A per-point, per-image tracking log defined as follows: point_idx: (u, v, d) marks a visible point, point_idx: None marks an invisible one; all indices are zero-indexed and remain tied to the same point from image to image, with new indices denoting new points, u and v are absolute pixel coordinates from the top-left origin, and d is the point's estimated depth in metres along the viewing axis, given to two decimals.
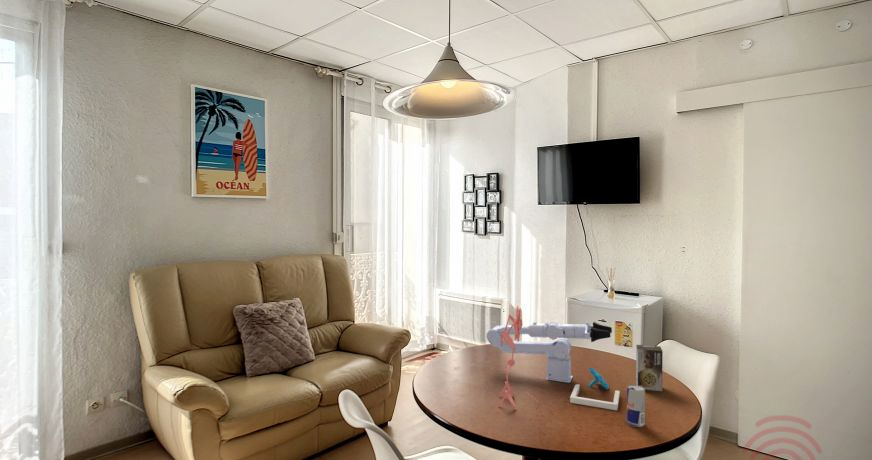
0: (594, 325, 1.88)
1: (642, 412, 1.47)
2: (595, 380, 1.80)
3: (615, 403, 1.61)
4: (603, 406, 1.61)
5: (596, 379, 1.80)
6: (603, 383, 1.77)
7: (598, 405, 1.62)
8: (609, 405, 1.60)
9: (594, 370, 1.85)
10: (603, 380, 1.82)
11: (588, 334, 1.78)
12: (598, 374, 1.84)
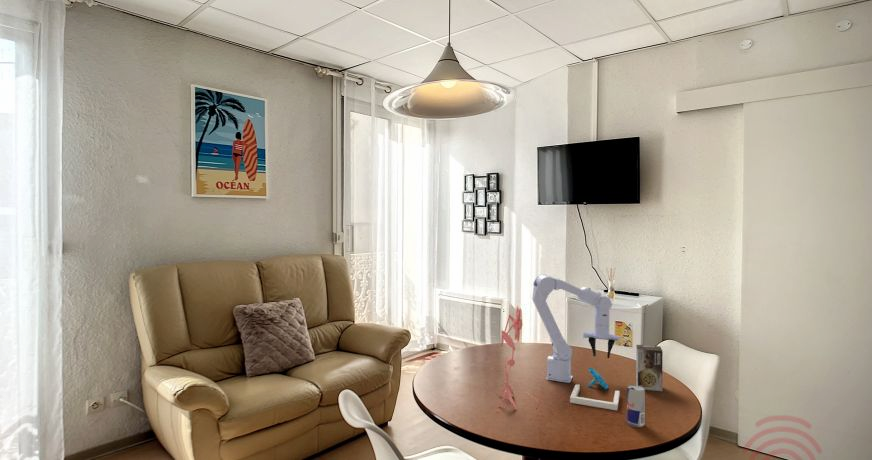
0: (595, 339, 1.93)
1: (642, 412, 1.47)
2: (594, 380, 1.81)
3: (615, 403, 1.61)
4: (603, 406, 1.61)
5: (595, 379, 1.80)
6: (602, 383, 1.77)
7: (598, 405, 1.62)
8: (609, 405, 1.60)
9: (594, 370, 1.85)
10: (603, 380, 1.82)
11: (620, 339, 1.87)
12: (598, 374, 1.84)
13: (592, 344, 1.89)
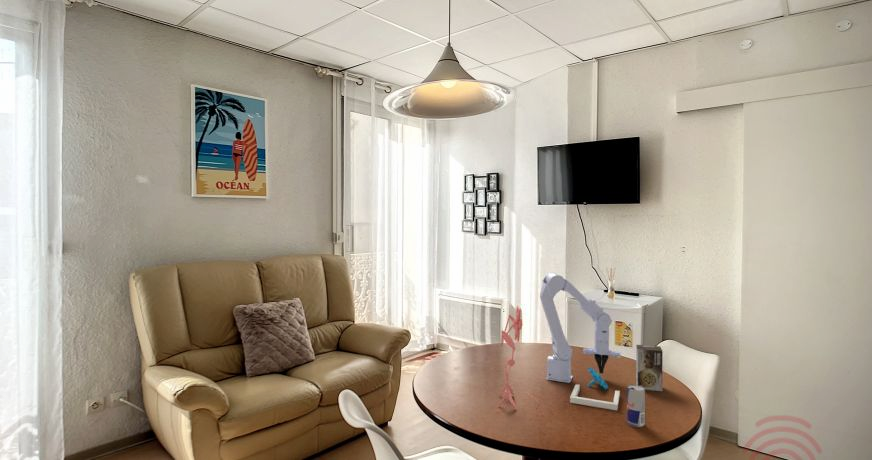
0: (601, 355, 1.92)
1: (642, 412, 1.47)
2: (594, 380, 1.81)
3: (615, 403, 1.61)
4: (603, 406, 1.61)
5: None
6: (602, 383, 1.77)
7: (598, 405, 1.62)
8: (609, 405, 1.60)
9: (594, 370, 1.85)
10: (602, 380, 1.82)
11: None
12: (597, 374, 1.84)
13: (598, 361, 1.89)
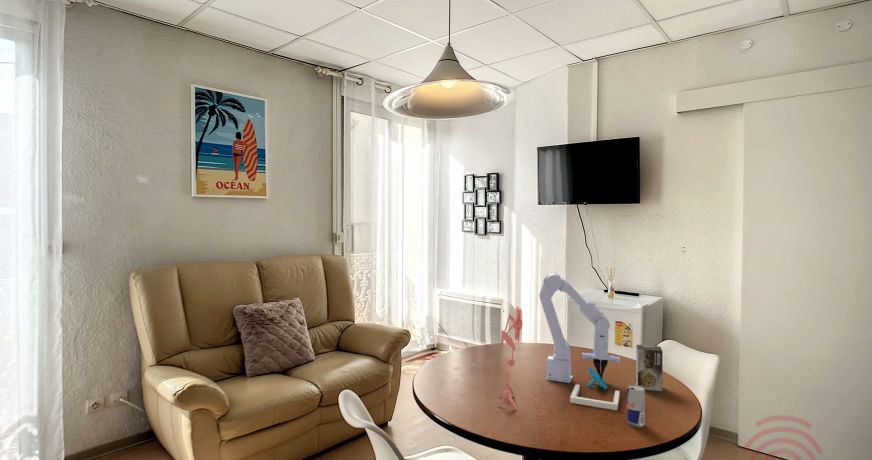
0: None
1: (642, 412, 1.47)
2: (594, 380, 1.80)
3: (615, 403, 1.61)
4: (603, 406, 1.61)
5: (595, 379, 1.80)
6: (601, 383, 1.76)
7: (598, 405, 1.62)
8: (609, 405, 1.60)
9: (593, 370, 1.84)
10: (602, 380, 1.81)
11: (619, 361, 1.84)
12: (597, 374, 1.83)
13: (597, 366, 1.86)
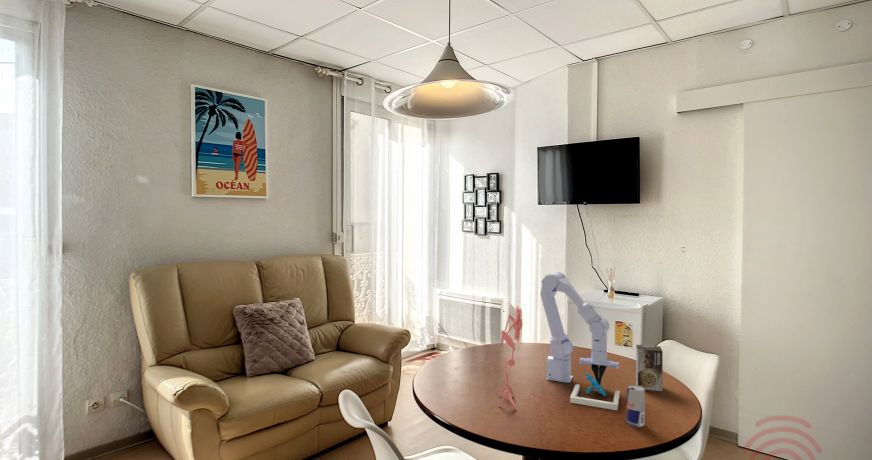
0: None
1: (642, 412, 1.47)
2: (592, 387, 1.73)
3: (615, 403, 1.61)
4: (603, 406, 1.61)
5: (593, 386, 1.73)
6: (600, 390, 1.70)
7: (598, 405, 1.62)
8: (609, 405, 1.60)
9: (591, 376, 1.78)
10: (600, 386, 1.75)
11: (618, 366, 1.78)
12: (595, 380, 1.76)
13: (595, 372, 1.79)
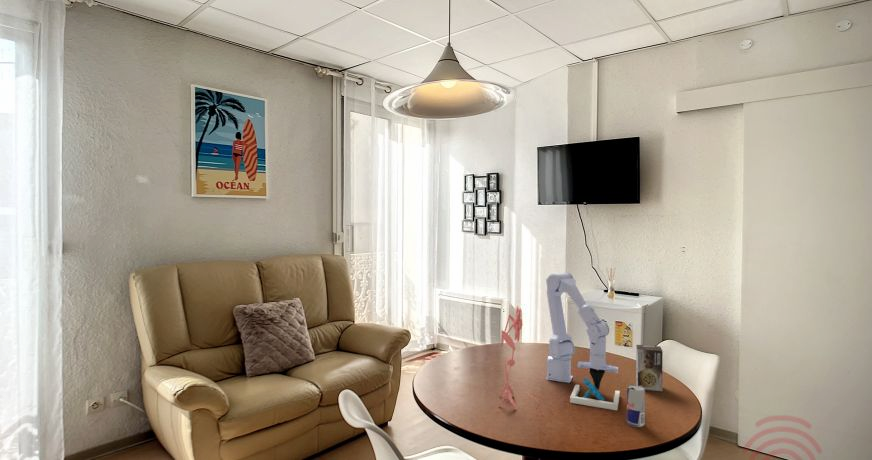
0: (597, 370, 1.77)
1: (642, 412, 1.47)
2: (589, 392, 1.68)
3: (615, 403, 1.61)
4: (603, 406, 1.61)
5: (591, 391, 1.68)
6: (598, 395, 1.65)
7: (598, 405, 1.62)
8: (609, 405, 1.60)
9: (588, 381, 1.73)
10: (598, 392, 1.70)
11: (617, 371, 1.72)
12: (592, 385, 1.72)
13: (593, 376, 1.74)
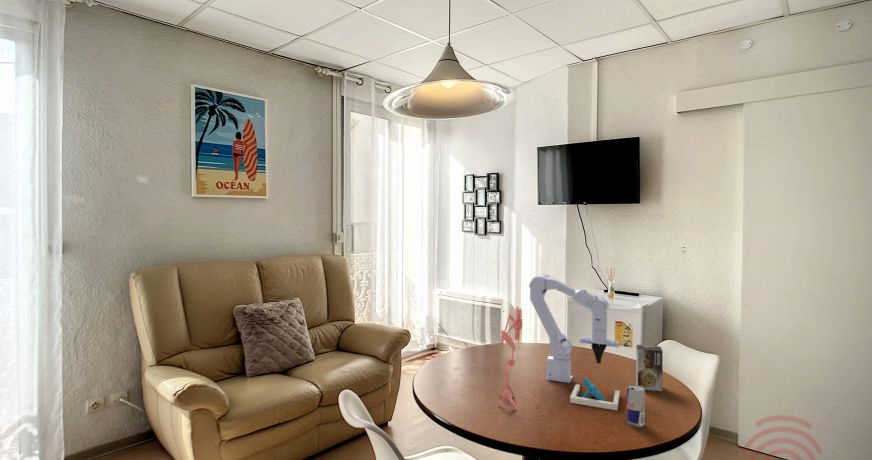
0: None
1: (642, 412, 1.47)
2: (589, 392, 1.68)
3: (615, 403, 1.61)
4: (603, 406, 1.61)
5: (590, 391, 1.68)
6: (597, 395, 1.65)
7: (598, 405, 1.62)
8: (609, 405, 1.60)
9: (588, 381, 1.73)
10: (597, 391, 1.70)
11: (618, 345, 1.79)
12: (592, 385, 1.72)
13: (595, 351, 1.80)
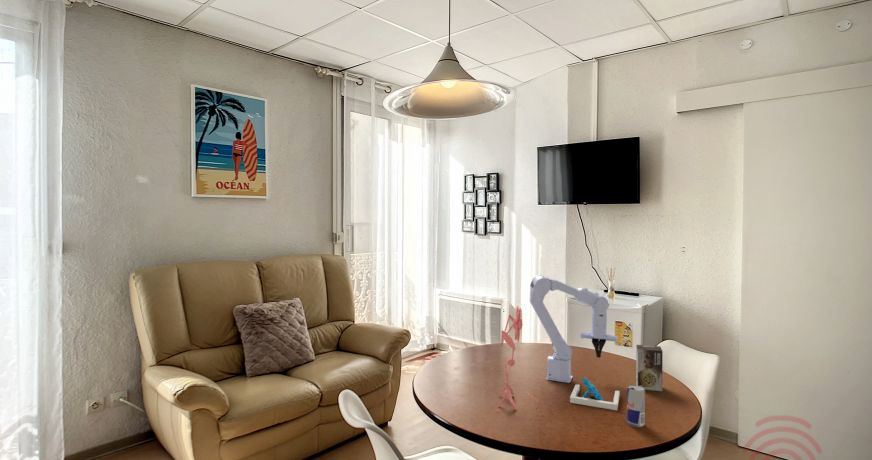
0: None
1: (642, 412, 1.47)
2: (588, 392, 1.69)
3: (615, 403, 1.61)
4: (603, 406, 1.61)
5: (589, 390, 1.68)
6: (597, 395, 1.65)
7: (598, 405, 1.62)
8: (609, 405, 1.60)
9: (588, 381, 1.73)
10: (597, 391, 1.70)
11: (617, 340, 1.87)
12: (592, 385, 1.72)
13: (595, 345, 1.88)
